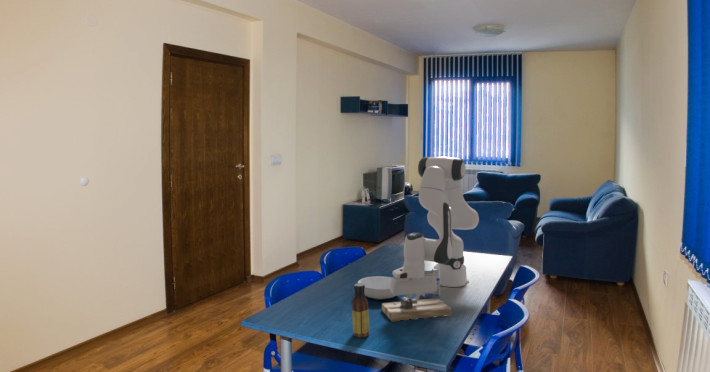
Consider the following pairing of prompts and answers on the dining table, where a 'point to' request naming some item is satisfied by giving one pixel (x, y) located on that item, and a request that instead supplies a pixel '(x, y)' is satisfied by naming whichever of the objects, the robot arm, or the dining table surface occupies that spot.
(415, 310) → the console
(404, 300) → the fader
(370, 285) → the serving bowl
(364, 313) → the sauce bottle
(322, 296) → the dining table surface
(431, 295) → the medicine box
